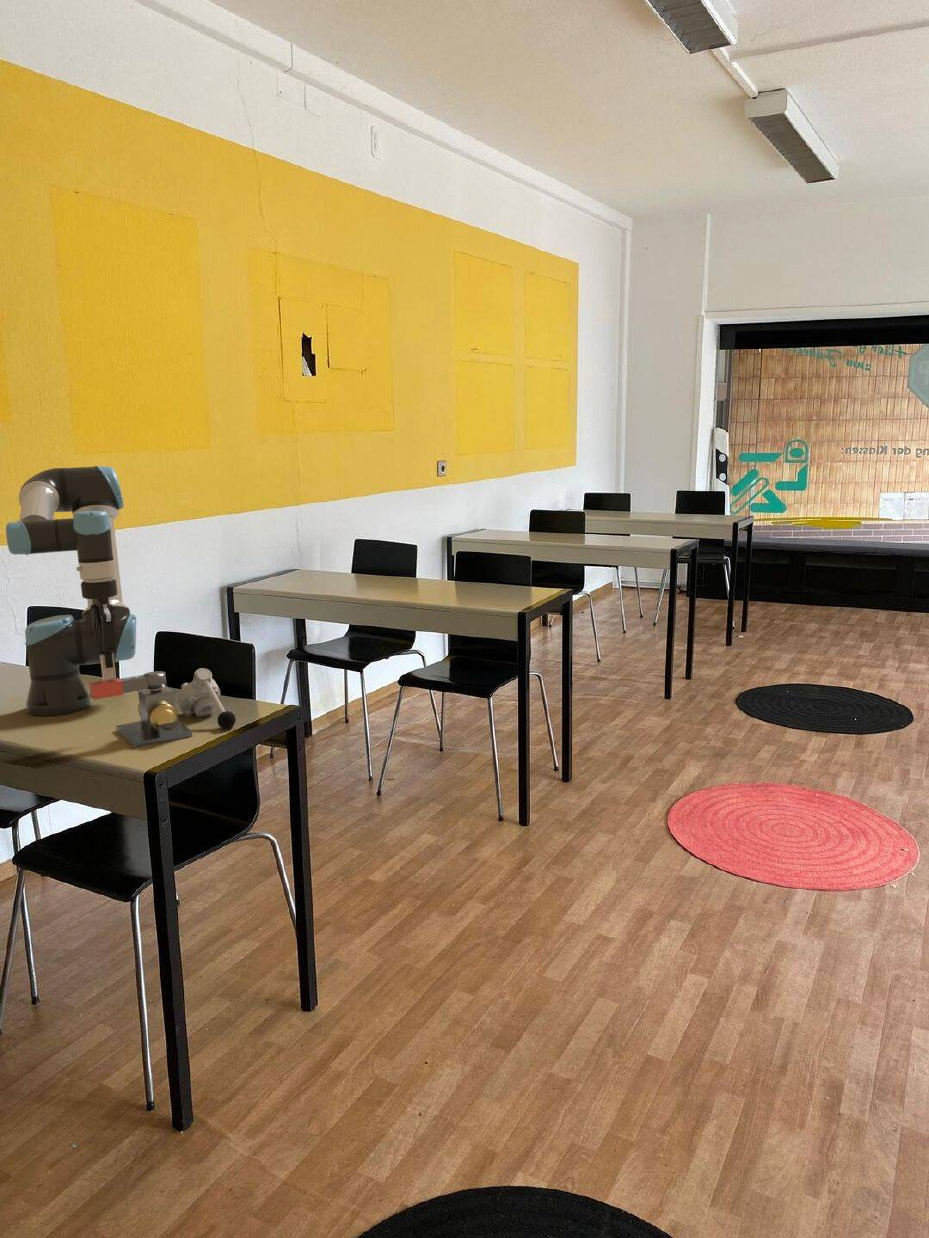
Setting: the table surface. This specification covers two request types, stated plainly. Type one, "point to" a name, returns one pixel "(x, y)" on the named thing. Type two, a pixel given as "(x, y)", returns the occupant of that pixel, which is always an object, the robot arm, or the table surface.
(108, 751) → the table surface
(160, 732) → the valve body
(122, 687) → the lever
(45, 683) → the robot arm
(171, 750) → the table surface
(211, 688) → the mechanical valve
